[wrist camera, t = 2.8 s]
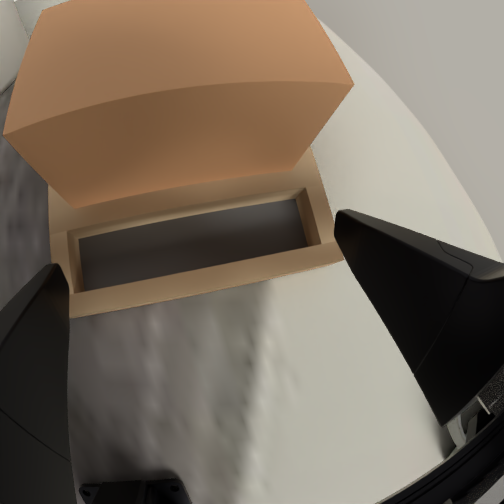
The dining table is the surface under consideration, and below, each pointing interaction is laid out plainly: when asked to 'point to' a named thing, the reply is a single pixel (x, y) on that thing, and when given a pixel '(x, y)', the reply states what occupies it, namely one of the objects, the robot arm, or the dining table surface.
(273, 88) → the block
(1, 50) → the alcohol
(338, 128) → the dining table surface
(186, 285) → the box
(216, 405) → the dining table surface
